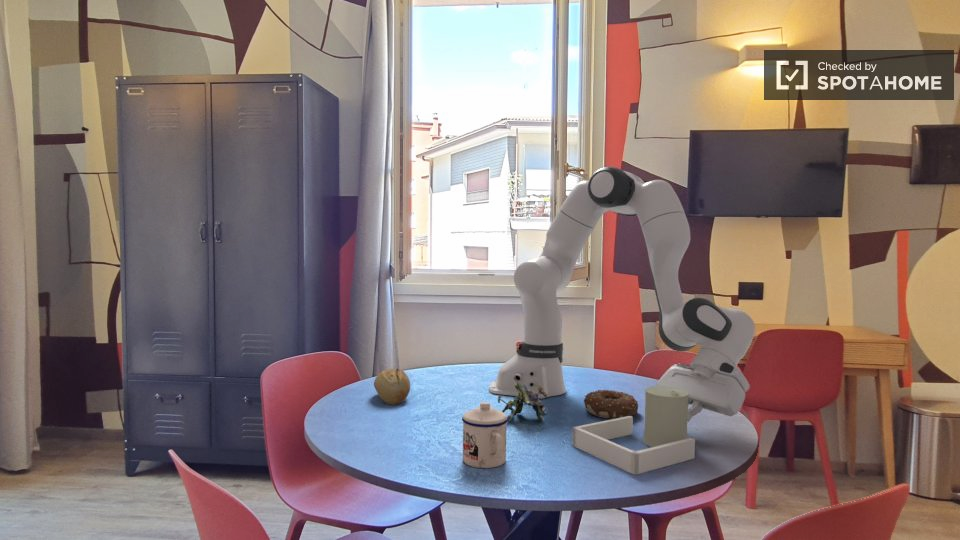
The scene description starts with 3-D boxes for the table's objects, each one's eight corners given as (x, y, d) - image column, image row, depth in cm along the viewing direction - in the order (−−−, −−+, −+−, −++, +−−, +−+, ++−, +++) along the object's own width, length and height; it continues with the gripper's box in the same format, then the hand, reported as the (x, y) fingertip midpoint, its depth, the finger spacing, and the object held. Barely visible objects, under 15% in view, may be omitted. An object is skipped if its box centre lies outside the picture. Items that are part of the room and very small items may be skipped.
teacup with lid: (454, 455, 119) (455, 399, 118) (495, 449, 123) (495, 395, 122) (478, 478, 108) (479, 416, 107) (522, 470, 112) (523, 410, 111)
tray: (629, 432, 134) (629, 415, 134) (694, 458, 119) (694, 439, 119) (572, 445, 126) (572, 427, 125) (634, 475, 110) (635, 454, 110)
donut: (573, 408, 154) (574, 390, 154) (617, 404, 159) (618, 385, 159) (604, 425, 141) (604, 404, 140) (650, 419, 146) (651, 399, 145)
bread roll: (402, 390, 169) (402, 363, 169) (415, 404, 155) (416, 374, 155) (369, 393, 166) (369, 365, 165) (379, 407, 152) (380, 377, 151)
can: (663, 453, 122) (664, 396, 121) (634, 439, 130) (636, 386, 130) (696, 447, 126) (698, 392, 125) (666, 434, 134) (668, 382, 133)
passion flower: (538, 442, 143) (559, 411, 136) (498, 439, 139) (517, 406, 133) (528, 406, 152) (547, 375, 145) (490, 402, 148) (507, 369, 142)
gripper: (668, 353, 142) (639, 398, 138) (745, 370, 125) (714, 422, 120) (680, 369, 145) (651, 414, 140) (757, 388, 127) (727, 440, 123)
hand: (681, 418), depth 130 cm, fingers closed, pressing on can
